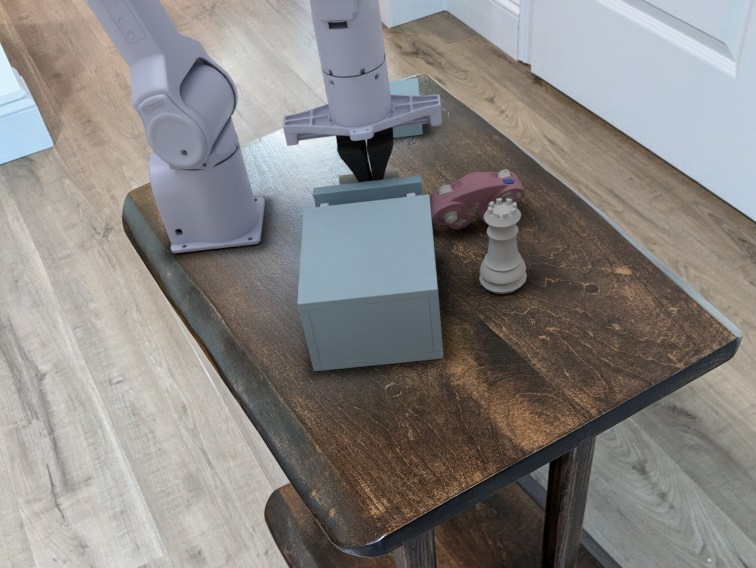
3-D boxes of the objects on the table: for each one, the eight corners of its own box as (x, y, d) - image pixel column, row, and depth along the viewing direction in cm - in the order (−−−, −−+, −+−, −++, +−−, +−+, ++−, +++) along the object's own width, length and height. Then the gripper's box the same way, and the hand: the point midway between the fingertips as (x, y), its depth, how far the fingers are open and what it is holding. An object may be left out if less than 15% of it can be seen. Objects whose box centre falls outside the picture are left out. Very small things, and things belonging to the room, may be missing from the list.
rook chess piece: (469, 283, 82) (465, 208, 75) (501, 260, 83) (501, 185, 77) (504, 302, 79) (503, 227, 73) (536, 278, 81) (539, 203, 75)
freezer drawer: (324, 213, 90) (314, 161, 85) (423, 201, 89) (419, 149, 84) (320, 320, 80) (308, 268, 75) (432, 308, 79) (427, 255, 74)
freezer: (318, 276, 85) (303, 208, 79) (435, 263, 84) (429, 193, 78) (313, 371, 77) (297, 304, 71) (443, 358, 76) (437, 288, 70)
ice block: (384, 139, 99) (380, 101, 96) (384, 119, 102) (379, 82, 98) (422, 134, 99) (419, 96, 95) (421, 115, 101) (417, 77, 98)
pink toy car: (430, 250, 88) (435, 213, 81) (416, 211, 89) (420, 171, 82) (521, 225, 89) (534, 186, 82) (507, 187, 89) (518, 145, 83)
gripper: (269, 95, 73) (301, 232, 84) (438, 71, 72) (450, 214, 83) (274, 56, 78) (304, 192, 88) (434, 33, 76) (445, 173, 87)
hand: (375, 200), depth 86 cm, fingers closed, pressing on freezer drawer
